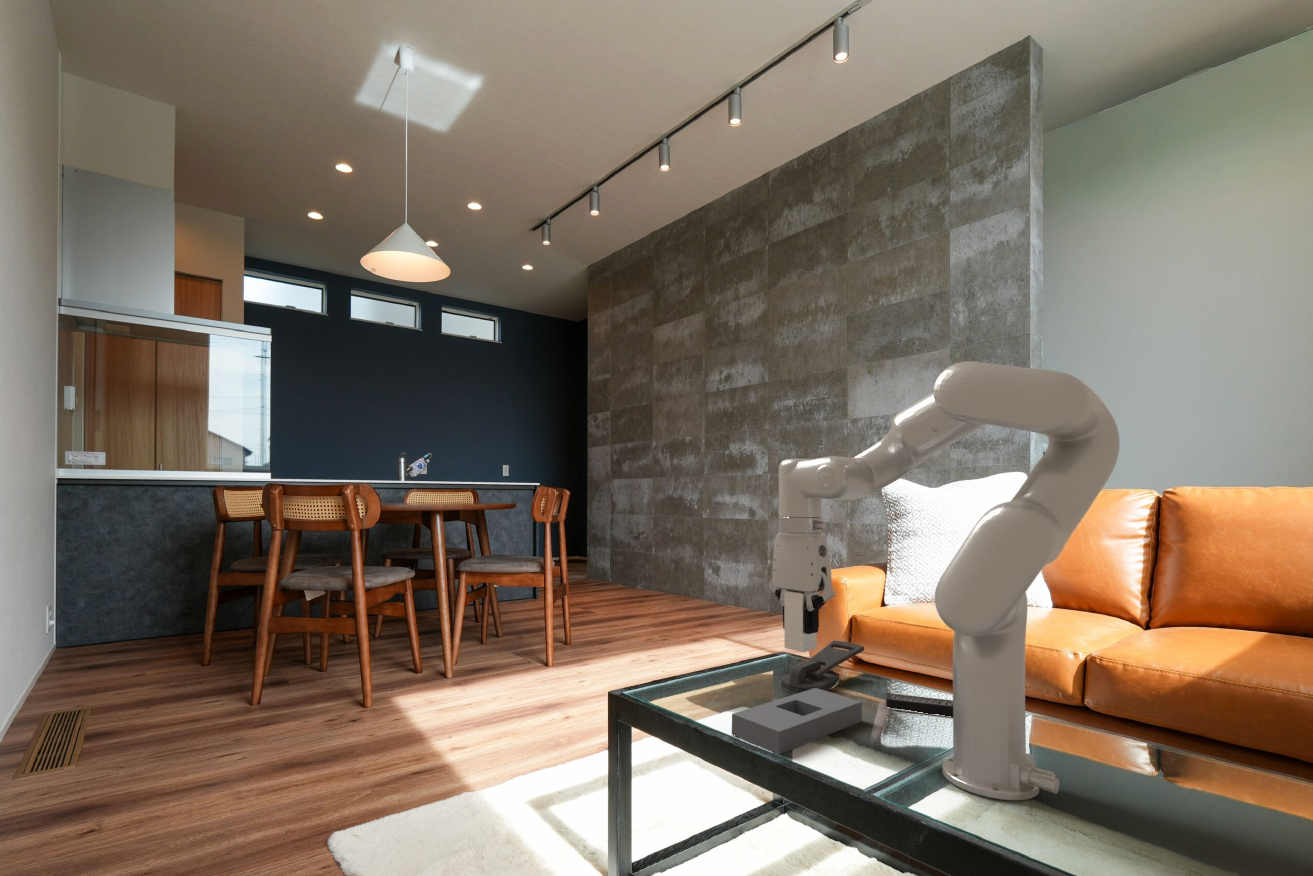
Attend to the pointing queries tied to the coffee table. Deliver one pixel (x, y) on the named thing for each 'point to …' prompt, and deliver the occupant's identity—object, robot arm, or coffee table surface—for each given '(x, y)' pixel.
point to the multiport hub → (920, 704)
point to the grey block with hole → (796, 719)
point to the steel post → (797, 623)
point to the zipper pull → (819, 668)
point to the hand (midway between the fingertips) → (800, 629)
